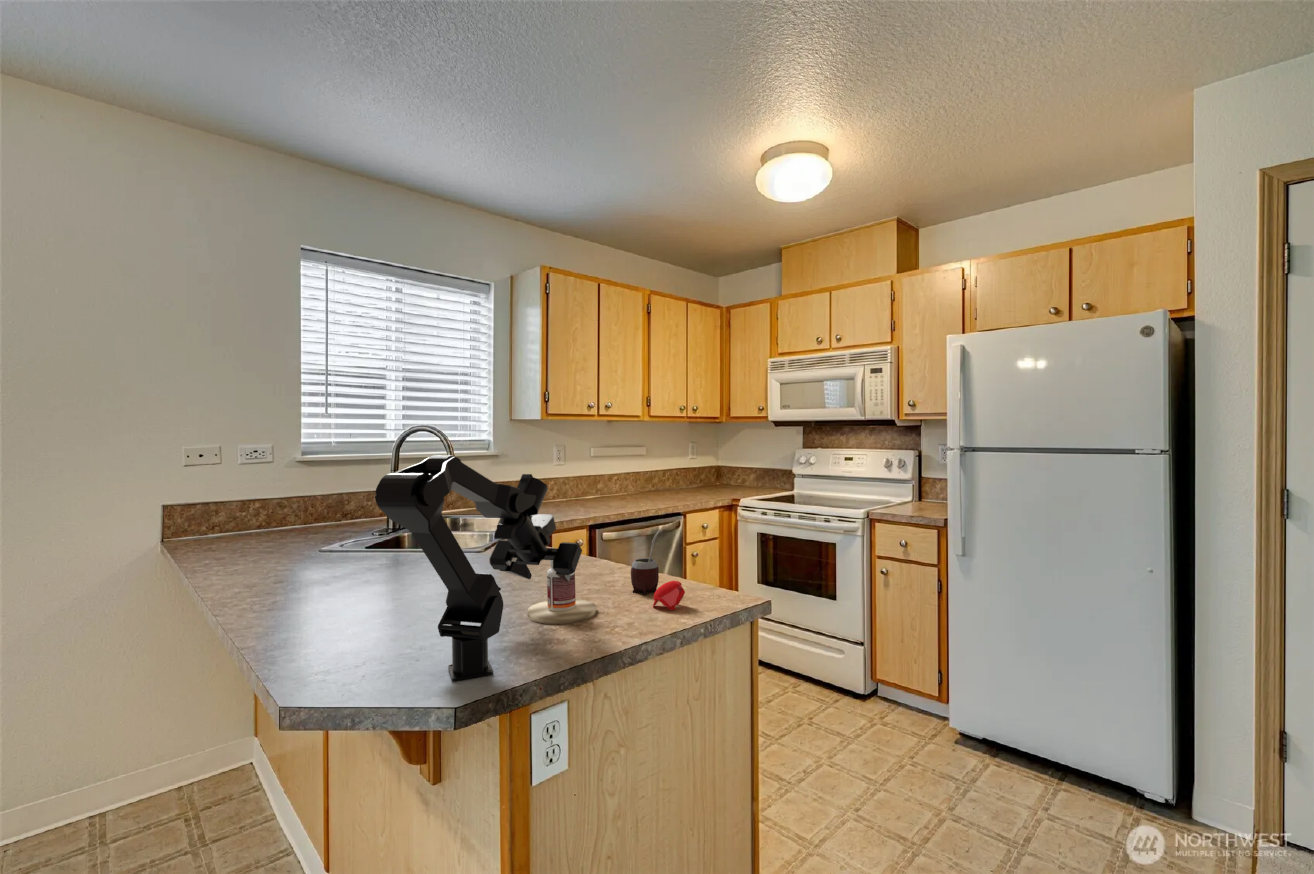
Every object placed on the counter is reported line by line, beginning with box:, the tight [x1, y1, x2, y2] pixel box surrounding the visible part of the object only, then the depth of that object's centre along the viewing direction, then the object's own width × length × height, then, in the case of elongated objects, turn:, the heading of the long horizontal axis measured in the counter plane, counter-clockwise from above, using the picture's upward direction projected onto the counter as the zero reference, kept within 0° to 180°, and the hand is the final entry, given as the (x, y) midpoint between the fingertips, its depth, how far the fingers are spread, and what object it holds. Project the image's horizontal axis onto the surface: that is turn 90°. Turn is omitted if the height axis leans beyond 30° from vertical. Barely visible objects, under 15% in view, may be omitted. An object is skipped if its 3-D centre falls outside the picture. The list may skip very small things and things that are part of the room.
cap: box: [652, 580, 686, 611], centre depth 135 cm, size 8×6×6 cm
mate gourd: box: [630, 529, 661, 596], centre depth 149 cm, size 8×8×15 cm
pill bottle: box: [546, 560, 577, 611], centre depth 131 cm, size 6×6×11 cm
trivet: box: [527, 598, 597, 625], centre depth 131 cm, size 15×15×1 cm
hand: (549, 578), depth 126 cm, fingers open, 9 cm apart
